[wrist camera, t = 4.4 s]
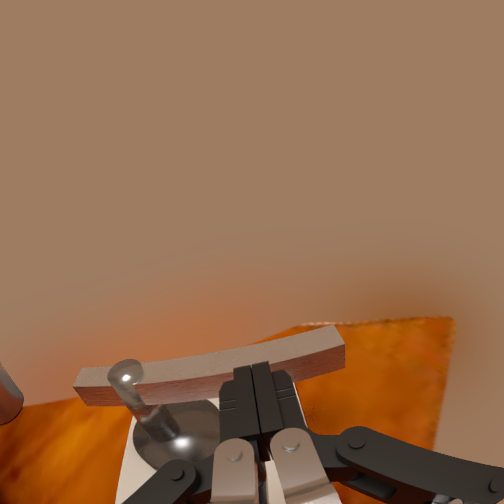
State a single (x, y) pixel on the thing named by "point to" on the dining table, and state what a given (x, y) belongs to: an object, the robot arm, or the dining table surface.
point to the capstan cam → (198, 390)
